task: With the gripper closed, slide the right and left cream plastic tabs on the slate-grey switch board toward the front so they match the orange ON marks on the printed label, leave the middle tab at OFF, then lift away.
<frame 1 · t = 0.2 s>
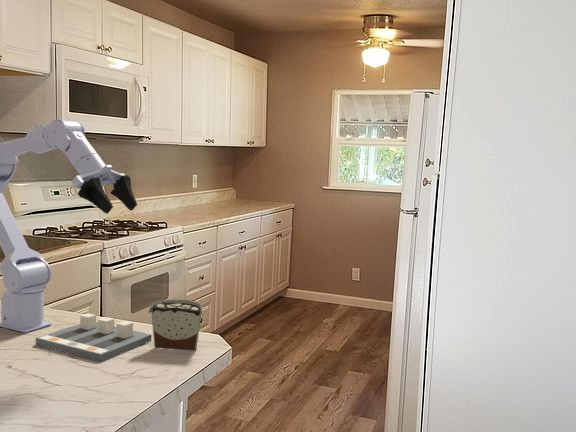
hand: (122, 208, 128), 31 cm above the counter, tool tilted 45°, fingers open, 7 cm apart
switch board: (94, 342, 133), on the counter
tab 1: (88, 321, 138), point 3 cm above the counter, slide at 0.0 cm
tab 3: (124, 329, 134), point 3 cm above the counter, slide at 0.0 cm
food container: (178, 346, 134), on the counter
tab 2: (106, 325, 136), point 3 cm above the counter, slide at 0.0 cm
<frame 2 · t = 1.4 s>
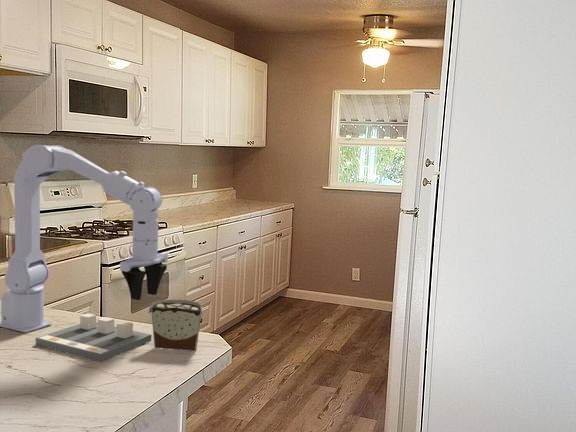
hand: (144, 296, 139), 9 cm above the counter, tool pointing down, fingers open, 5 cm apart
nothing on the counter moved.
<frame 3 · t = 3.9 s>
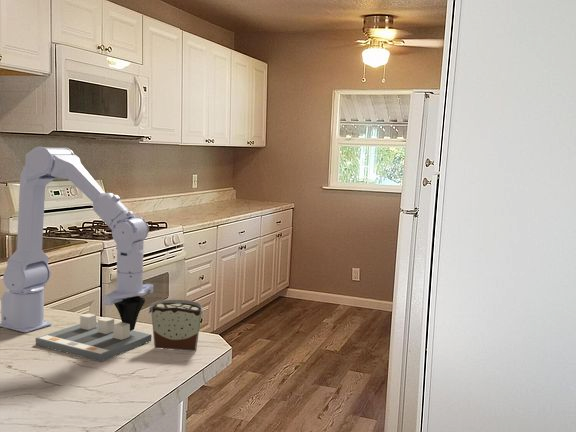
hand: (128, 329, 135), 3 cm above the counter, tool pointing down, fingers closed
tab 3: (121, 330, 133), point 3 cm above the counter, slide at 1.0 cm, touching gripper
everything else where it was.
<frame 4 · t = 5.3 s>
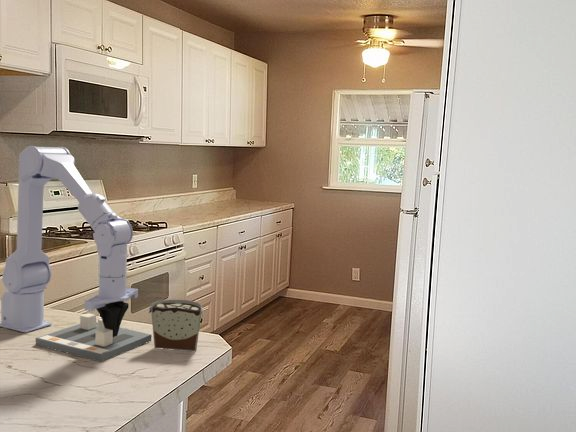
hand: (111, 335, 130), 3 cm above the counter, tool pointing down, fingers closed
tab 3: (104, 337, 128), point 3 cm above the counter, slide at 6.5 cm, touching gripper
everything else where it was.
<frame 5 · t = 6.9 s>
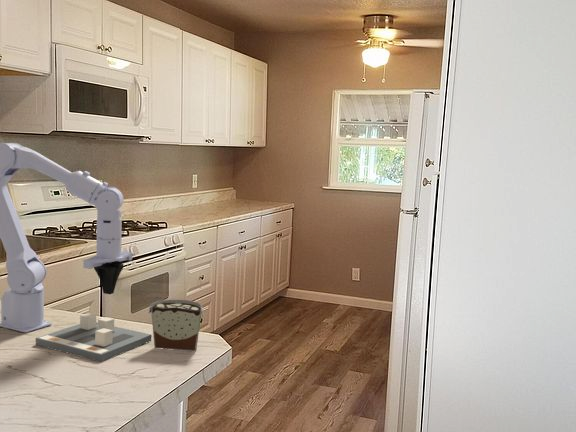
hand: (108, 293, 144), 9 cm above the counter, tool pointing down, fingers closed
tab 3: (103, 337, 128), point 3 cm above the counter, slide at 6.5 cm
everything else where it was.
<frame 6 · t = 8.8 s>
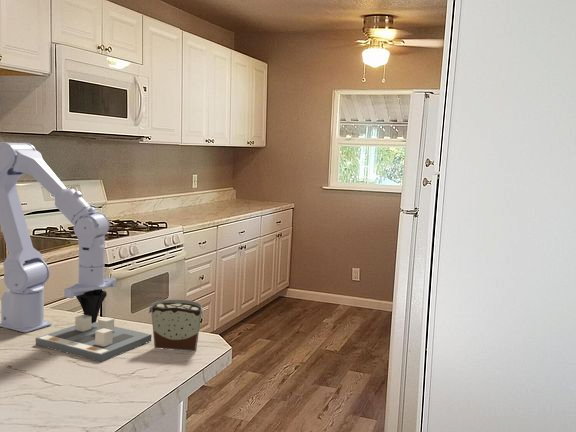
hand: (90, 321, 139), 3 cm above the counter, tool pointing down, fingers closed
tab 1: (83, 323, 137), point 3 cm above the counter, slide at 1.5 cm, touching gripper
everything else where it was.
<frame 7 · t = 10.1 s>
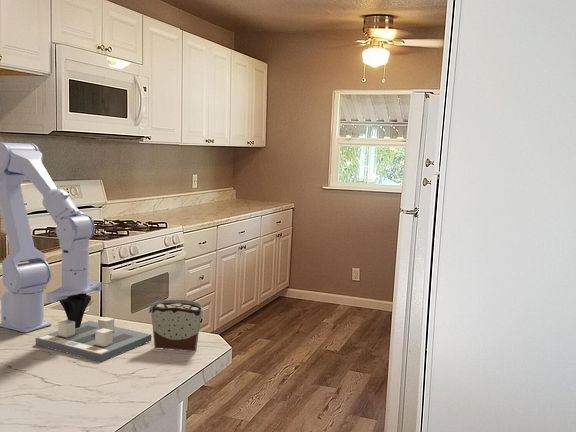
hand: (74, 327, 135), 3 cm above the counter, tool pointing down, fingers closed
tab 1: (66, 328, 133), point 3 cm above the counter, slide at 6.5 cm, touching gripper
everything else where it was.
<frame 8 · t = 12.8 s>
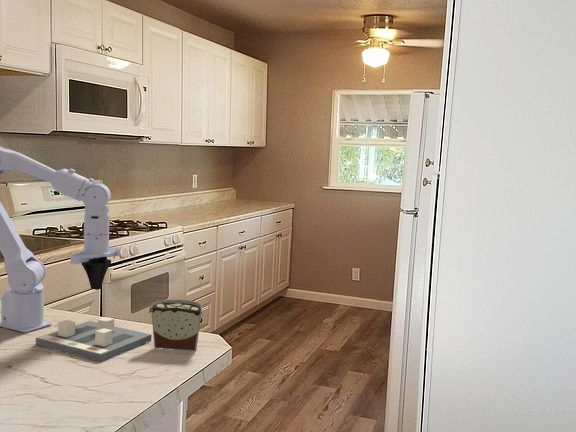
hand: (95, 288, 144), 9 cm above the counter, tool pointing down, fingers closed
tab 1: (66, 328, 133), point 3 cm above the counter, slide at 6.5 cm
everything else where it was.
at the end: tab 1 slide at 6.5 cm; tab 3 slide at 6.5 cm; tab 2 slide at 0.0 cm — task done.
